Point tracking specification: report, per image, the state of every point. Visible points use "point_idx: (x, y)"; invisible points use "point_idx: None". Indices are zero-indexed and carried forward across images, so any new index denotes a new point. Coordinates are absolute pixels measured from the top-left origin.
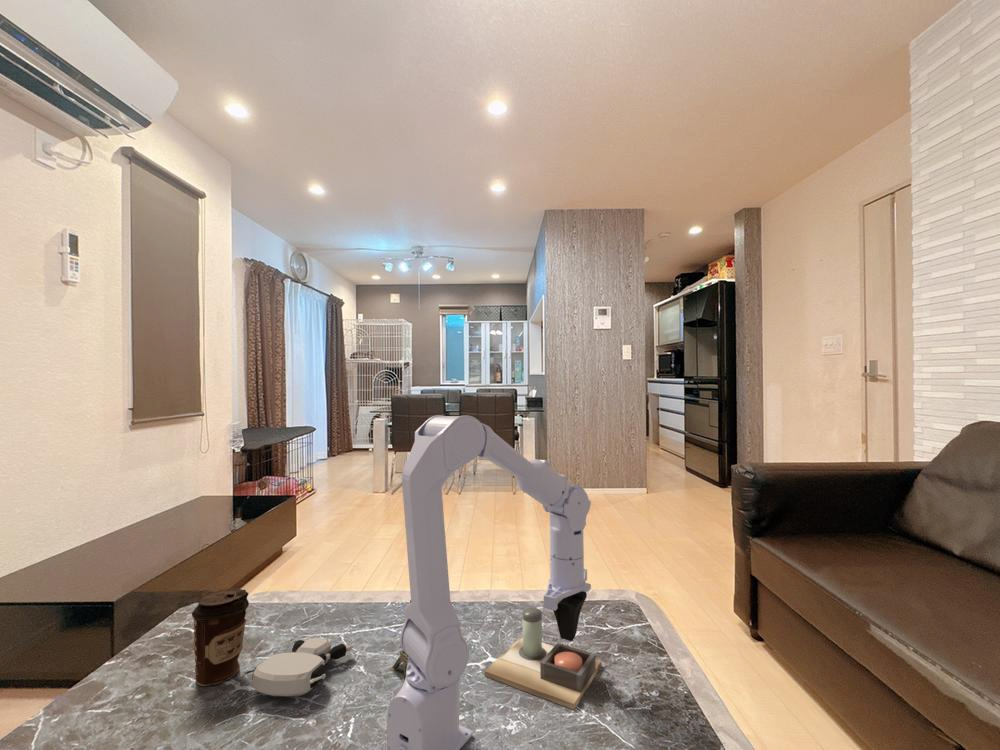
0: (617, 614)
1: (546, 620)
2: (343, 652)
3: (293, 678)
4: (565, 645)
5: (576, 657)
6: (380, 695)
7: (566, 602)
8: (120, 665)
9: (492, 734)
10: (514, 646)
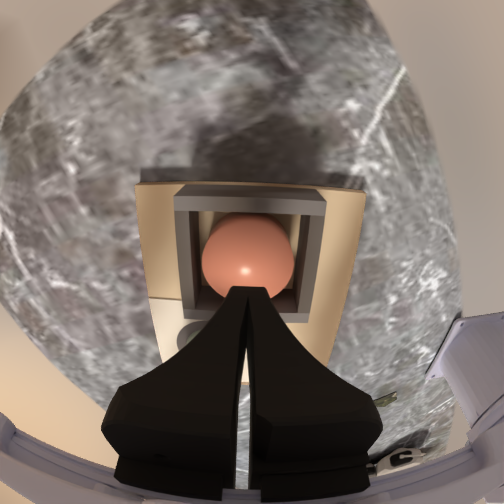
0: None
1: (71, 349)
2: None
3: (421, 460)
4: (181, 296)
5: (223, 246)
6: (394, 422)
7: (367, 455)
8: None
9: (450, 298)
10: None
